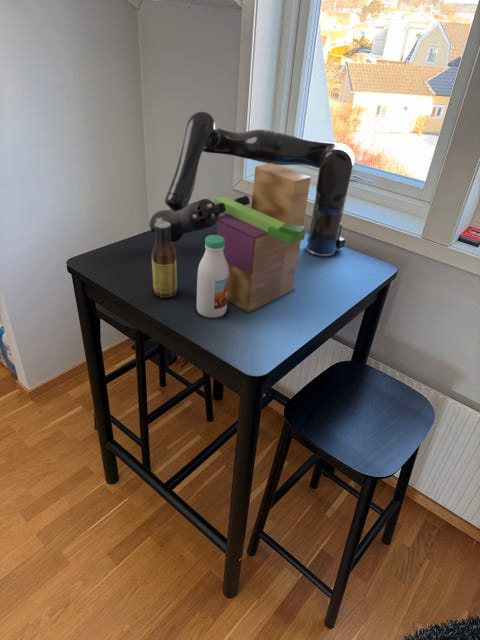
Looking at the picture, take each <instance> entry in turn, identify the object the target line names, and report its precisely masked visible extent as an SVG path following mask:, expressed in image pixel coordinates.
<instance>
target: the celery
mask: <svg viewBox="0 0 480 640" xmlns="http://www.w3.org/2000/svg"><path fill="white" fill-rule="evenodd" d="M233 200H234V199H231V198H229V197H226V196H224V195H223V196H221V197H217V198H214V203H215V204H214V205H216V204H219V203H222V202H223V203H224V205H225V208H226V211H224V212H225V213H227V215H229V216H233V217H236V218H238V219H240V220H242V221H244V222H247V223H249V224H251V225H253V226H255V227H257V228H260V229H262V230H264V231H266V232H268V233H267V234H268V235H270V236H272V237H274V238H276V239H278V240H281V241H283V242H285V243H287V244H289V245H291V244H293V243H296V242H298V241H300V242H301V241H303V240H305V236H306V226H304V225H303V226H299V225H296V224H292V223H288V222H286V223H284V222H281V221H279V220H277V219H275V218H272V217H270V216H268V215H265V214H263V213H261V212H258V211H256V210H254V209H252V208H251V207H249V206H248V205H242V204H240V203H238V202H235V201H233ZM224 212H223V213H224Z"/></svg>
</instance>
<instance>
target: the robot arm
mask: <svg viewBox="0 0 480 640" xmlns="http://www.w3.org/2000/svg"><path fill="white" fill-rule="evenodd" d="M202 153H207V154H219V155H226V156H227V155H228V156H234V157H238V158H242V159H246V160H252V161H255V162H259V163H264V164H270V163H272V164H275V165H278V166H309V167H312V168H315V169H316V168H317V169H318V175H317V181H316V188H315V198H314V202H313V203H314V204H313V208H312V216H311V221H310V225H309V226H310V227H309V232H308V237H307V241H306V242H307V244H306V247H305V249H306V251H307V252H308V253H309V254H311V255H313V256H315V257H322V258H327V257H332V256H334V255H335V254H336V252H337V251H338V250H340V249H342V248H344V247H345V244H346V239H345V238H343V237H342V236H341V235H342V229H343V224H342V221H343V215H344V209H345V205H346V200H347V196H348V191H349V187H350V181H351V175H352V172H353V167H354V164H355V154H354V151H353V150H352V149H351V148H350V147H349V146H348V145H346V144H343V143H338V142H325V141H317V140H316V141H315V140H310V139H305V138H303V137H298V136H295V135H290V134H287V133H286V134H285V133H282V132H277V131H273V130H267V129H252V130H247V131H241V132H239V131H238V132H237V131H236V132H234V131H232V130H231V131H230V130H226V129H222V128H220V127H218V125H217V122H216V121H215V118H214V117H213V116H212V115H211V114H210V113H209V112H207V111H197V112H195V113H193V114H192V115H191V116H190V117H189V118H188V120H187V122H186V126H185V132H184V136H183V143H182V147H181V150H180V154H179V158H178V162H177V165H176V168H175V171H174V174H173V177H172V179H171V181H170V185H169V187H168V190H167V193H166V195H165V198H164V203H165V205H166V207H168V208H169V209H163V210H162V209H161V210H157V211H156V212H155V213H153V214H152V216H151V217H150V219H149V223H148V224H149V229H150V231H151V232H152V233H154V234H155V230H154V224H155V223H156V222H159V221H166V222H169V223H170V224H171V231H170V234H171V242H172V243H176V242H178V241H179V240H180V239H182V237H183V235H185V234H188V233H190V232H198V231H202V230H205V229H207V228H211V227H214V226H215V225H216V224H218V220H219V219H220V217H224V216H225V215H226V214H227V213H225V212H224V211H226V208H225V205H224V203H223V202H222V203H219V204H216V205H214V204H215V201H213V200H211V199H210V198H203V199H199V200H197V201H195V202H192V203H190V200H191V197H192V195H193V193H194V190H195V185H196V181H197V176H198V175H197V174H198V167H199V163H200V160H201V156H202ZM232 200H233V201H235V202H238V203H240V204H242V205H245V206H248V205H250V203H251V201H250V198H249V196H248V195H244V196H239V197H236V198H234V199H232ZM189 203H190V204H189ZM227 215H228V214H227Z"/></svg>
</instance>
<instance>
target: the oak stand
mask: <svg viewBox="0 0 480 640" xmlns="http://www.w3.org/2000/svg"><path fill="white" fill-rule="evenodd" d="M311 179H312V176H310V175H306V174H303V173H300V172H298V171H296V170H292V169H289V168H286V167H283V166H282V165H275V164H272V163H270V164H268V163H264V164H261V165H257V166H255V167H254V177H253V187H252V197H251V207H250V208H252V209H254V210H256V211H258V212H261V213H263V214H265V215H268V216H270V217H272V218H275V219H277V220H279V221H281V222H284V223H286V222H288V223H292V224H296V225H299V226H303V227H304V223H305V216H306V210H307V204H308V199H309V192H310V187H311ZM300 248H301V241H298V242H296V243H293V244H291V245H289V244H287V243H285V242H283V241H281V240H278V239H276V238H274V237H272V236H270V235H268V234H266V235H263V236H260V237H257V238H255V242H254V252H253V262H252V272H251V275H249V274H248V273H246V272H244V271H242V270H240V269H238V268H237V267H235V266H233V265H231V264H229V263H228V267H229V283H228V298H227V302H230V303H231V304H233V305H235V306H236V307H238V308H240V309H241V310H242V311H245V312H246V313H250V312H251V313H252V312H253V311H255V310H257V309H259V308H260V307H262V306H264V305H266V304H268V303H270V302H273V301H274V300H276V299H278V298H281V297H283V296H284V295H286V294H289V293H290V292H292V291H293V289H294V283H295V278H296V272H297V265H298V260H299V259H298V258H299V254H300V253H299V252H300Z"/></svg>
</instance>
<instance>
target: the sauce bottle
mask: <svg viewBox="0 0 480 640" xmlns="http://www.w3.org/2000/svg"><path fill="white" fill-rule="evenodd" d="M154 230H155V233H154V235H155V238H154V244H153V247H152V250H151V271H152V273H151V274H152V288H153V292H154V294H155V296H156V297H159V298H162V299H169V298H172V297H174V296H176V294H177V291H178V290H177V289H178V274H177V273H178V269H177V268H178V267H177V254H176V253H177V251H176V247H175V244H174V242H171V234H170V231H171V224H170V223H169V222H166V221H159V222H156V223H155V224H154Z"/></svg>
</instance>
